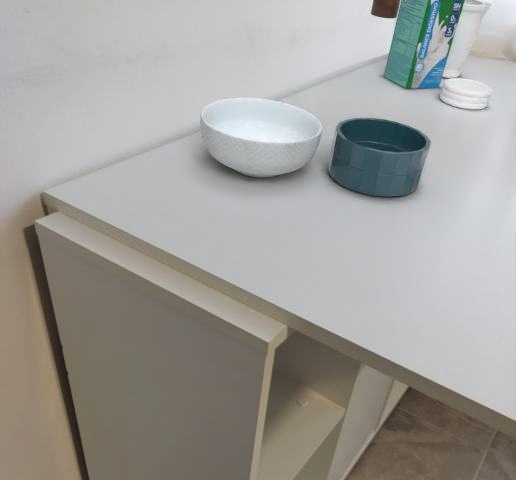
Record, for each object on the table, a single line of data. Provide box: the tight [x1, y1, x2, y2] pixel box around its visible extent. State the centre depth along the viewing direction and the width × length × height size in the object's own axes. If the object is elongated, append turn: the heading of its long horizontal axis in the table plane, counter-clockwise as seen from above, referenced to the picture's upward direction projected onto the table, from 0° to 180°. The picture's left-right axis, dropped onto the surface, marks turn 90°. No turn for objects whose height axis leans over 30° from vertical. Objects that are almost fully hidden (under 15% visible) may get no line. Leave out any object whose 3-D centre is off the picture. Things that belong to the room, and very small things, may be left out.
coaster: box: [439, 77, 493, 110], centre depth 111 cm, size 10×10×4 cm
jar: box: [442, 0, 487, 79], centre depth 124 cm, size 11×10×15 cm
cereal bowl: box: [199, 97, 323, 179], centre depth 76 cm, size 17×17×7 cm
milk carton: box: [383, 0, 465, 90], centre depth 112 cm, size 9×9×25 cm
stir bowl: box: [328, 117, 432, 197], centre depth 77 cm, size 13×13×6 cm
